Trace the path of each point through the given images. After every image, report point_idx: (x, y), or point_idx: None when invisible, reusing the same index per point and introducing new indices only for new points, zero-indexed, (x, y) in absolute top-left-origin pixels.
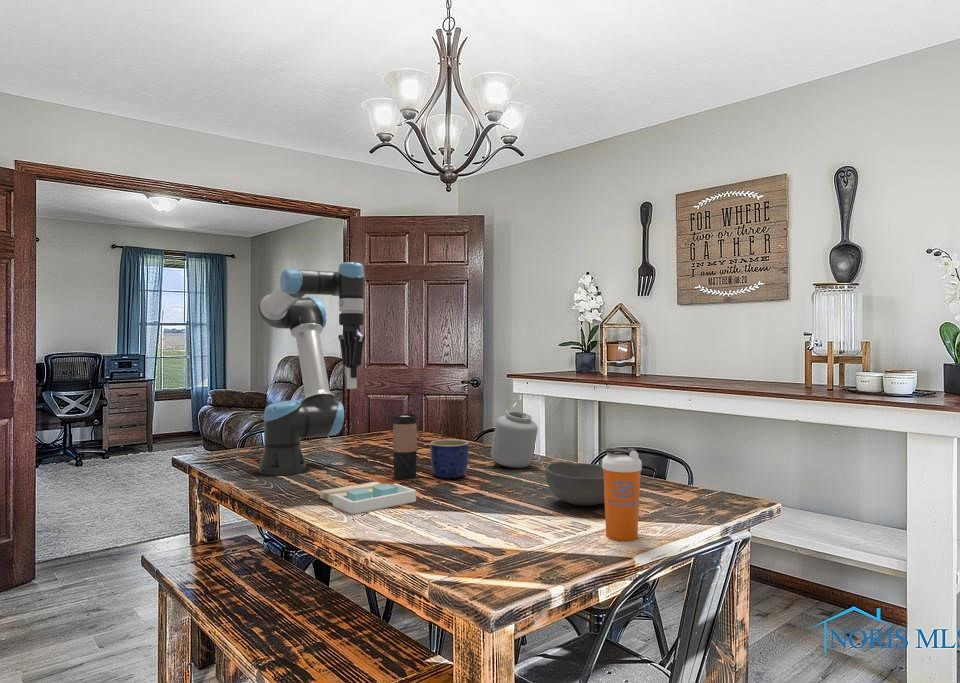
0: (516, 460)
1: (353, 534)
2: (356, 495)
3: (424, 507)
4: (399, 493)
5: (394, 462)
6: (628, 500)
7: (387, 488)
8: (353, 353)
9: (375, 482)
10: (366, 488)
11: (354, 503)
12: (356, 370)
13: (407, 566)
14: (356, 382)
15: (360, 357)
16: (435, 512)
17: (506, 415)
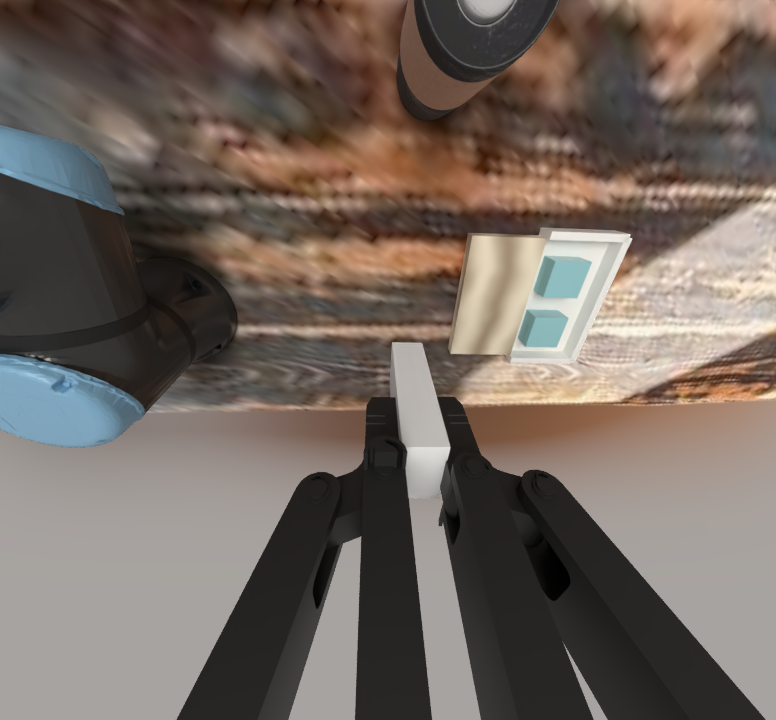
0: None
1: (623, 389)
2: (556, 345)
3: (653, 246)
4: (611, 276)
5: (429, 115)
6: None
7: (578, 283)
8: (590, 677)
9: (480, 241)
10: (504, 286)
11: (574, 359)
12: (474, 441)
13: (740, 396)
14: (427, 364)
15: (624, 574)
16: (690, 251)
17: None
